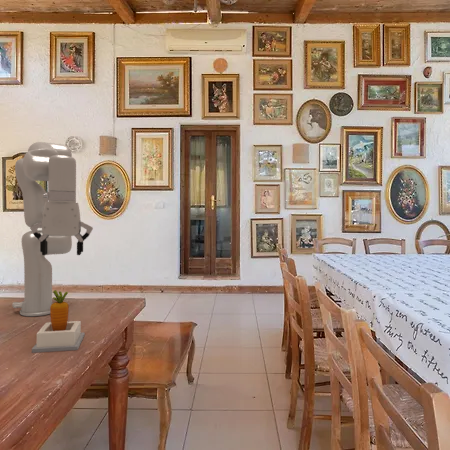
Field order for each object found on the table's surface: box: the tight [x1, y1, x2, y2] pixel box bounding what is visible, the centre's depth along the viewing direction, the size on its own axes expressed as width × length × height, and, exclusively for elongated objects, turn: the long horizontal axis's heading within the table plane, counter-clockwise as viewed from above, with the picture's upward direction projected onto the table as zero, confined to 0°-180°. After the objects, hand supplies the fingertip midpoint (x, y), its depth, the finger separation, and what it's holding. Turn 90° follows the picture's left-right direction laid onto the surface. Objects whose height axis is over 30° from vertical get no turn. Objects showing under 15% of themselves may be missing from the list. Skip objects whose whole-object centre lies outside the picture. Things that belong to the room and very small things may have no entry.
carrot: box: [49, 289, 70, 331], centre depth 107 cm, size 5×5×15 cm
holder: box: [31, 320, 85, 354], centre depth 107 cm, size 12×12×5 cm
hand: (62, 254), depth 108 cm, fingers open, 9 cm apart
